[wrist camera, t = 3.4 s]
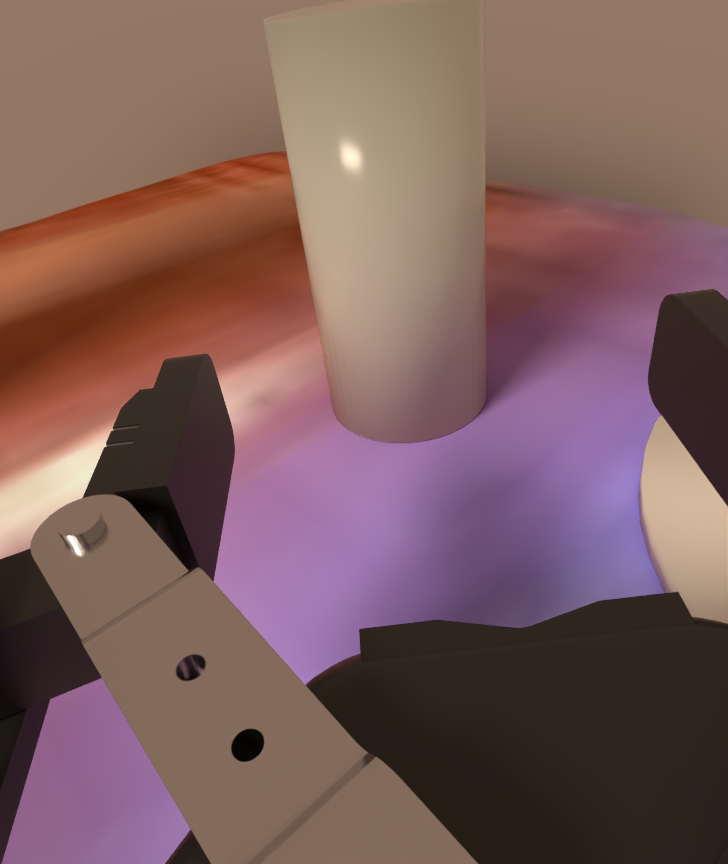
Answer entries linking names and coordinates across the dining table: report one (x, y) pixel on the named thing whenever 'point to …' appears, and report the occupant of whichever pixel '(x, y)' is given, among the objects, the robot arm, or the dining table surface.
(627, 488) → the dining table surface
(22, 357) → the dining table surface
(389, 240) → the white tapered cylinder
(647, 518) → the dish
